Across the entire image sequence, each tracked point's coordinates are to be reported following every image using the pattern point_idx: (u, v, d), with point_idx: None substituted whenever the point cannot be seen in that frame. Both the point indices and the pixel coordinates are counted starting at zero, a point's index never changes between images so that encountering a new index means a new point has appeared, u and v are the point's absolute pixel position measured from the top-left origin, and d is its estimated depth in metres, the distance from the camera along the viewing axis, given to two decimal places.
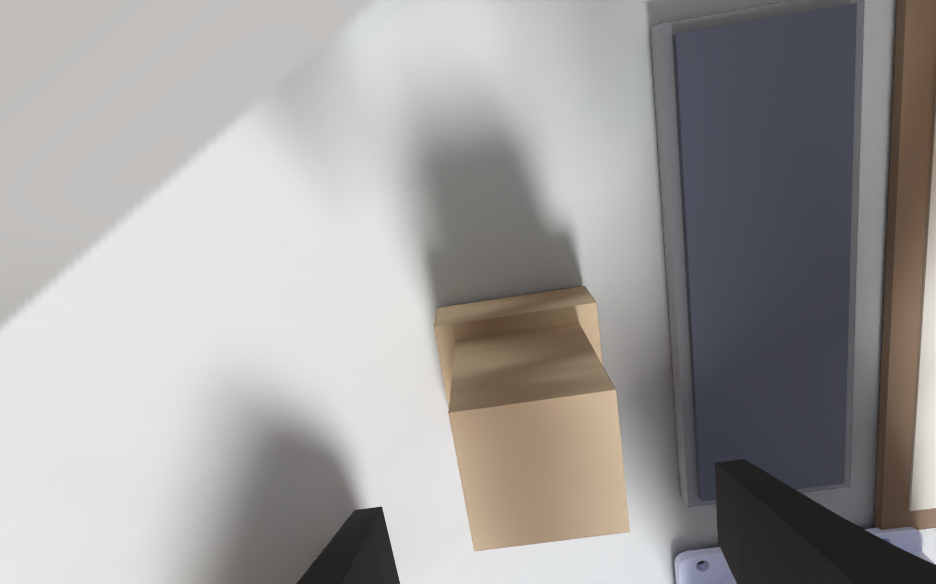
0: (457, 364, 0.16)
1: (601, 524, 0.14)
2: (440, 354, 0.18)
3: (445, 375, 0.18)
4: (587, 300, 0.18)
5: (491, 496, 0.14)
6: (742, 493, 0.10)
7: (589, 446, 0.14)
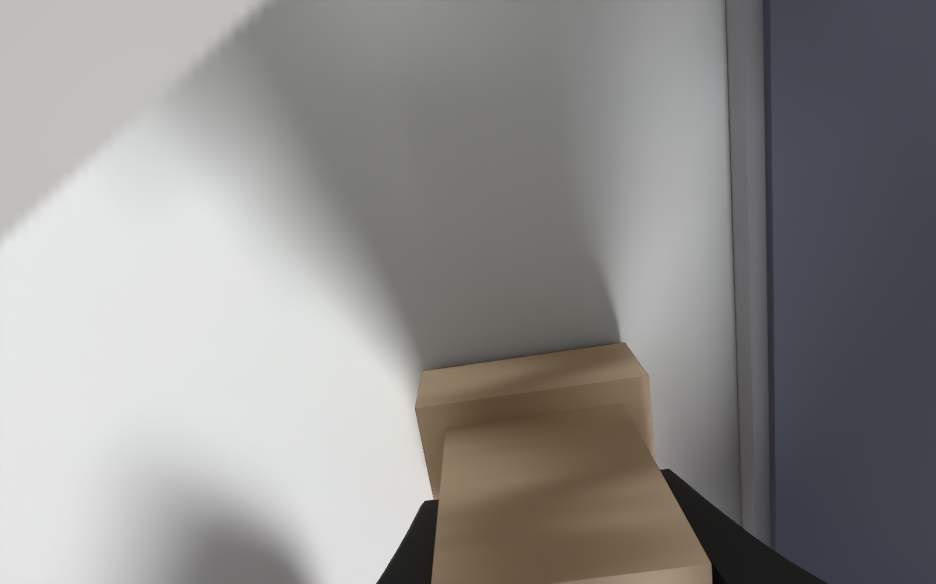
0: (447, 478, 0.11)
1: None
2: (425, 446, 0.13)
3: (432, 474, 0.13)
4: (634, 370, 0.13)
5: None
6: None
7: None
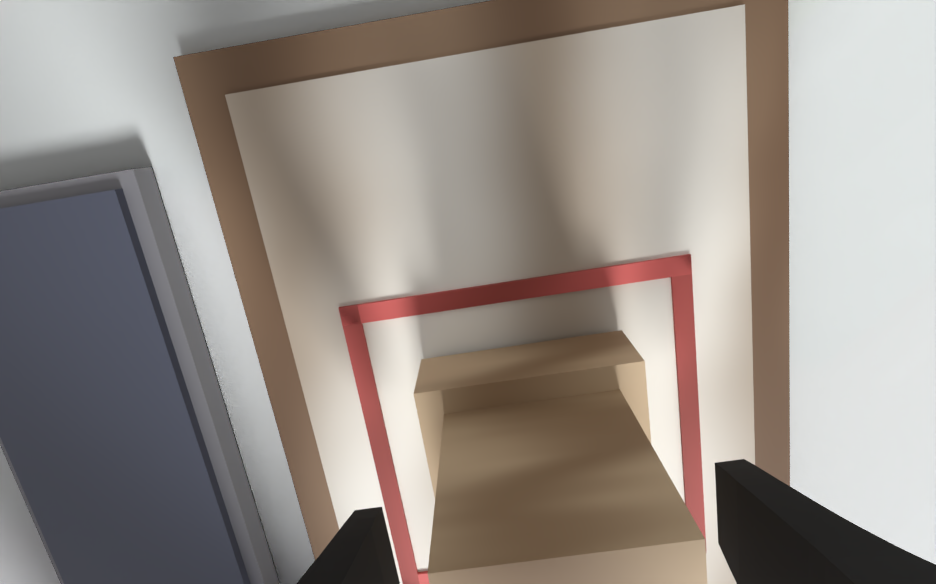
0: (445, 461, 0.11)
1: None
2: (423, 432, 0.13)
3: (430, 460, 0.13)
4: (630, 356, 0.13)
5: None
6: (742, 493, 0.10)
7: None
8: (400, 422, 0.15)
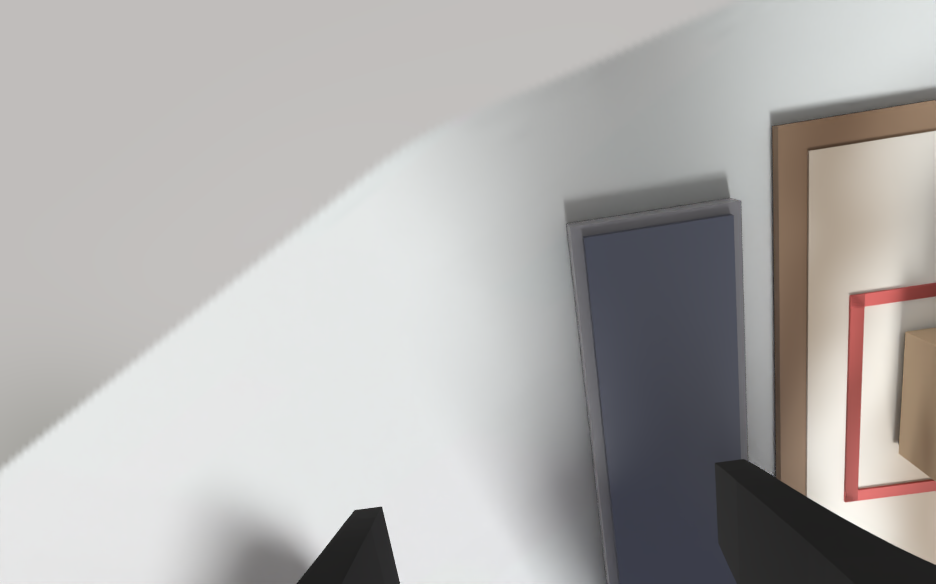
0: None
1: None
2: None
3: None
4: None
5: None
6: (742, 493, 0.10)
7: None
8: (869, 377, 0.22)
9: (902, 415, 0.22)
